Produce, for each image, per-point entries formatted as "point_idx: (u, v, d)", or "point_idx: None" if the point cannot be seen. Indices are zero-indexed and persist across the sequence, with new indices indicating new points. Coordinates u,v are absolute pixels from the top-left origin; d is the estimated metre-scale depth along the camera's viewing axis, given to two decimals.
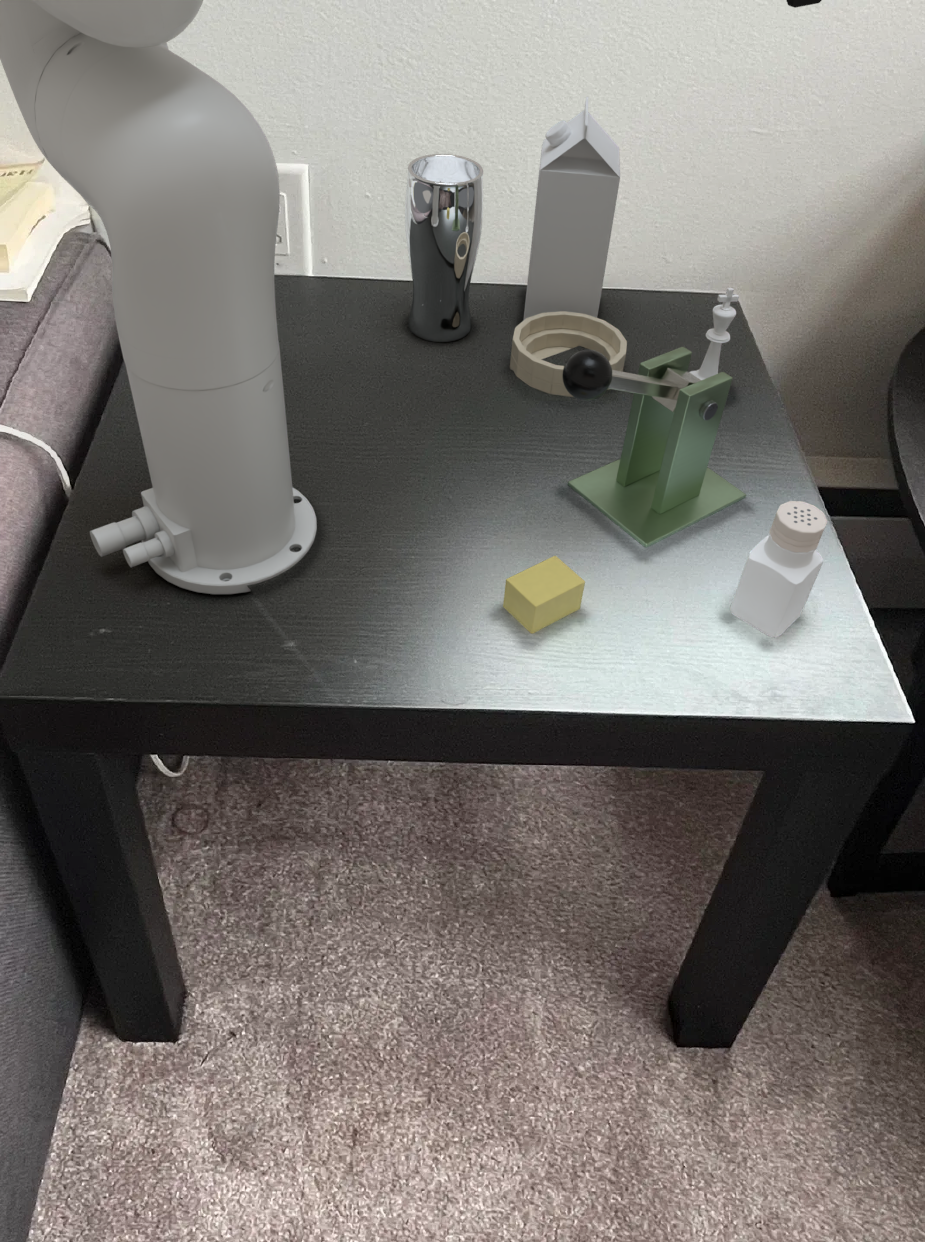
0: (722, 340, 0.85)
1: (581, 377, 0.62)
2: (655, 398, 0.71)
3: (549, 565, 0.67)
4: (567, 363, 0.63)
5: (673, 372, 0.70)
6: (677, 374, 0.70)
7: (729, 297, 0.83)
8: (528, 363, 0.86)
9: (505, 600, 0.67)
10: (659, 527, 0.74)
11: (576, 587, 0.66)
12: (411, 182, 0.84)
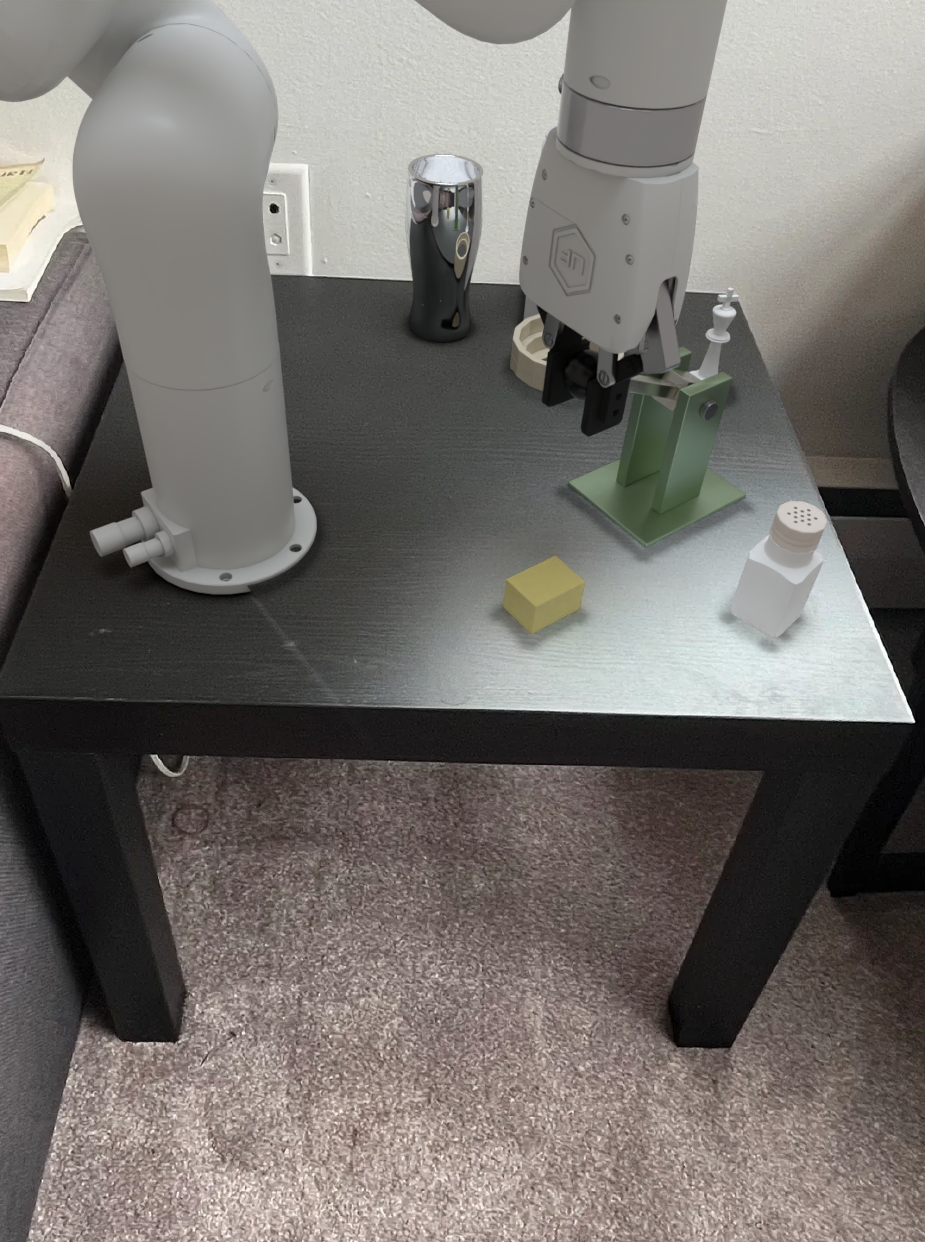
0: (722, 340, 0.85)
1: (581, 377, 0.62)
2: (655, 398, 0.71)
3: (549, 565, 0.67)
4: (567, 363, 0.63)
5: (673, 372, 0.70)
6: (677, 374, 0.70)
7: (729, 297, 0.83)
8: (528, 363, 0.86)
9: (505, 600, 0.67)
10: (659, 527, 0.74)
11: (576, 587, 0.66)
12: (411, 182, 0.84)
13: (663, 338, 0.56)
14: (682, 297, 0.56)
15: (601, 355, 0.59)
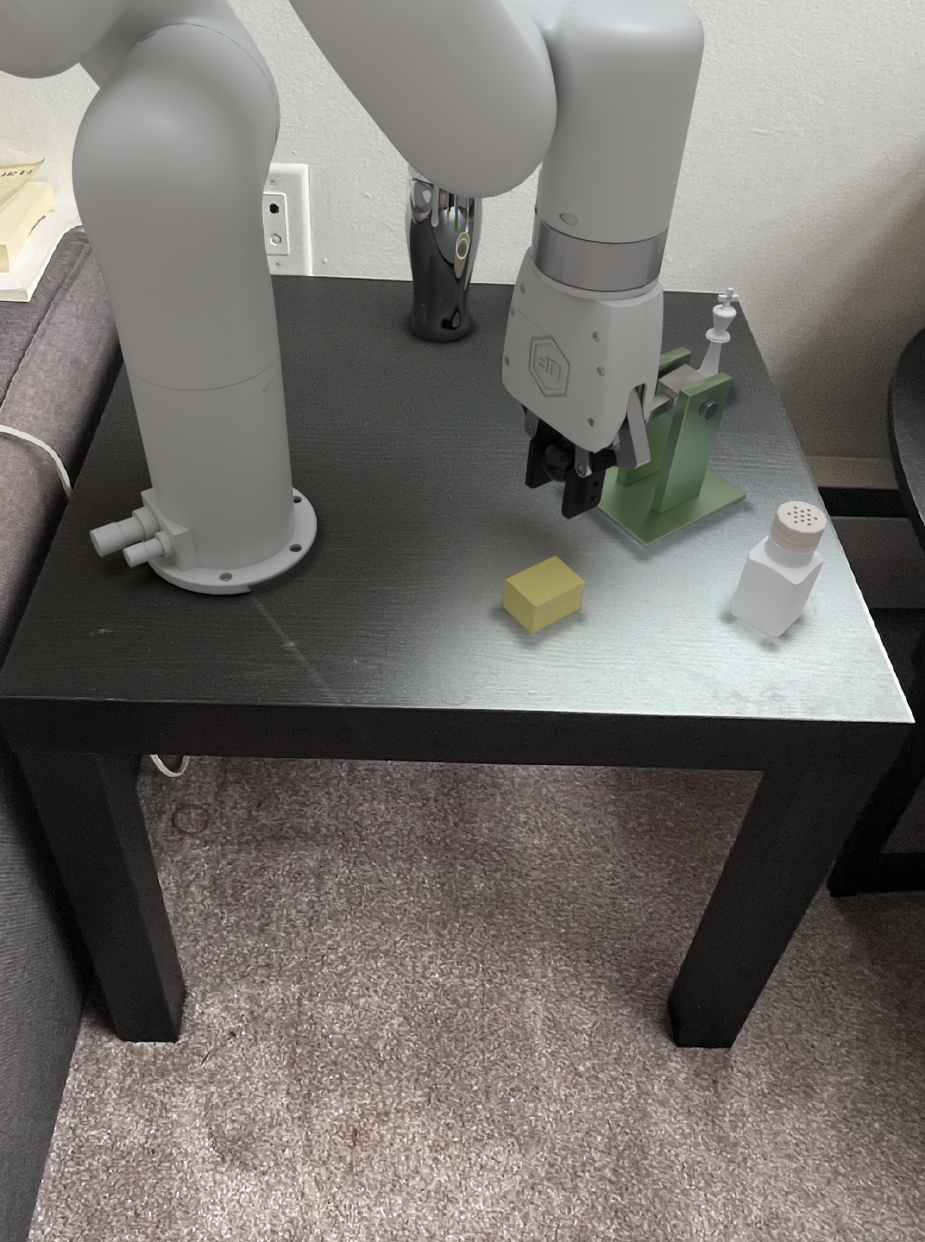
0: (722, 340, 0.85)
1: (555, 473, 0.67)
2: None
3: (549, 565, 0.67)
4: (541, 459, 0.67)
5: (663, 384, 0.70)
6: (667, 385, 0.70)
7: (729, 297, 0.83)
8: None
9: (505, 600, 0.67)
10: (659, 527, 0.74)
11: (576, 587, 0.66)
12: (411, 182, 0.84)
13: (634, 438, 0.60)
14: (651, 399, 0.61)
15: (578, 449, 0.64)
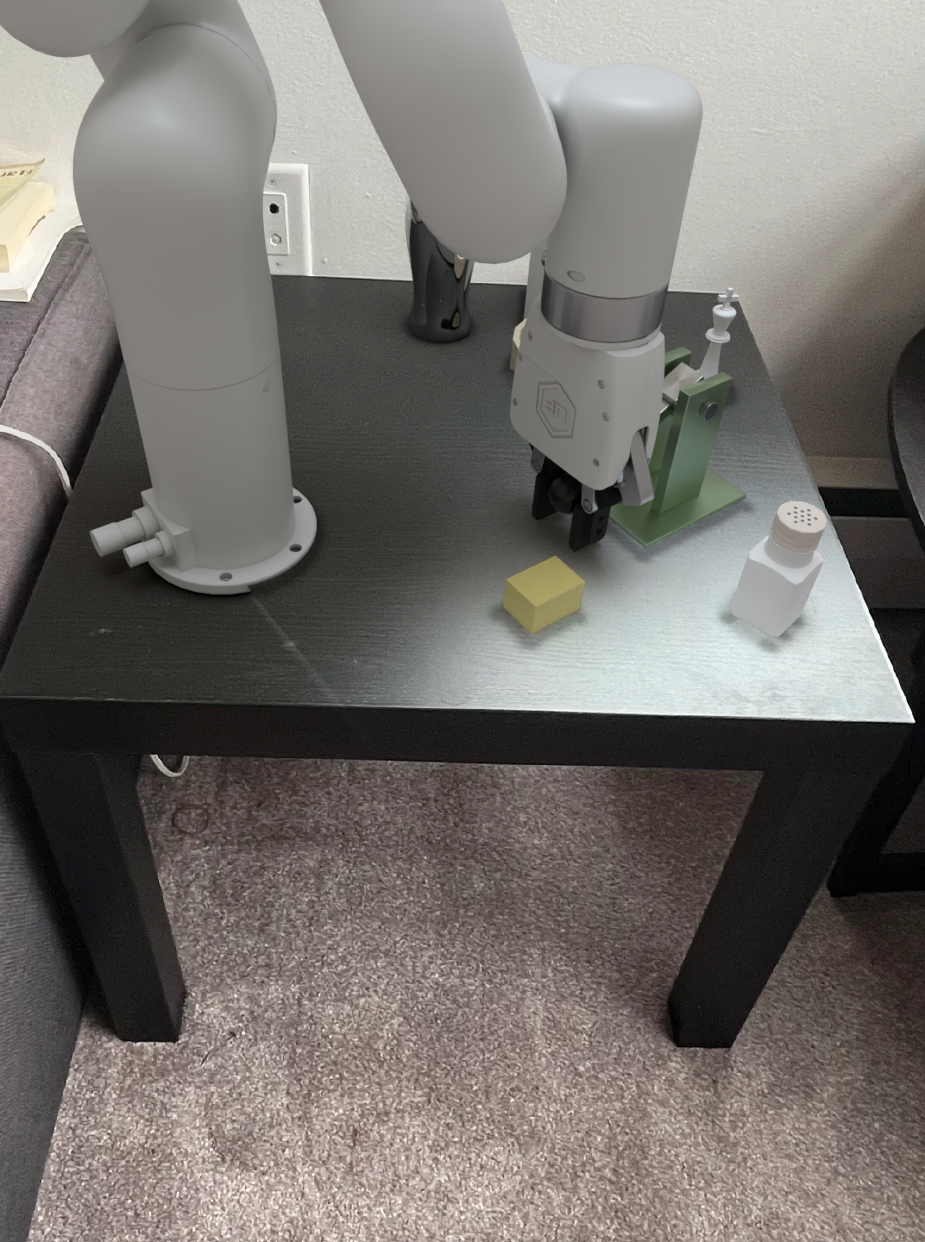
0: (722, 340, 0.85)
1: (562, 509, 0.70)
2: None
3: (549, 565, 0.67)
4: (548, 496, 0.71)
5: None
6: (664, 393, 0.70)
7: (729, 297, 0.83)
8: None
9: (505, 600, 0.67)
10: (659, 527, 0.74)
11: (576, 587, 0.66)
12: None
13: (638, 477, 0.63)
14: (653, 440, 0.64)
15: (584, 486, 0.67)
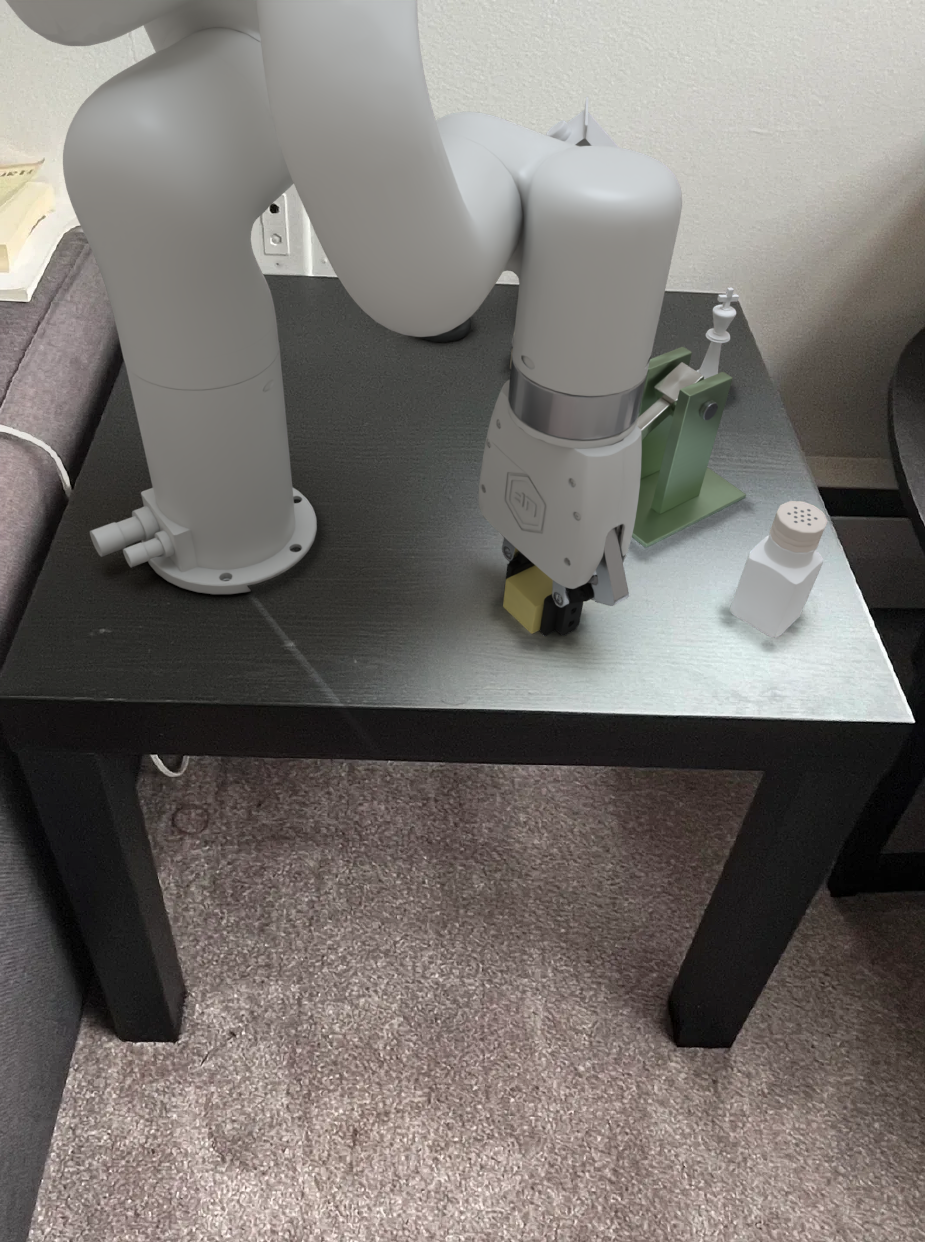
0: (722, 340, 0.85)
1: None
2: None
3: None
4: None
5: (660, 391, 0.70)
6: (664, 393, 0.70)
7: (729, 297, 0.83)
8: None
9: (505, 600, 0.67)
10: (659, 527, 0.74)
11: None
12: None
13: (611, 576, 0.59)
14: (630, 537, 0.59)
15: None
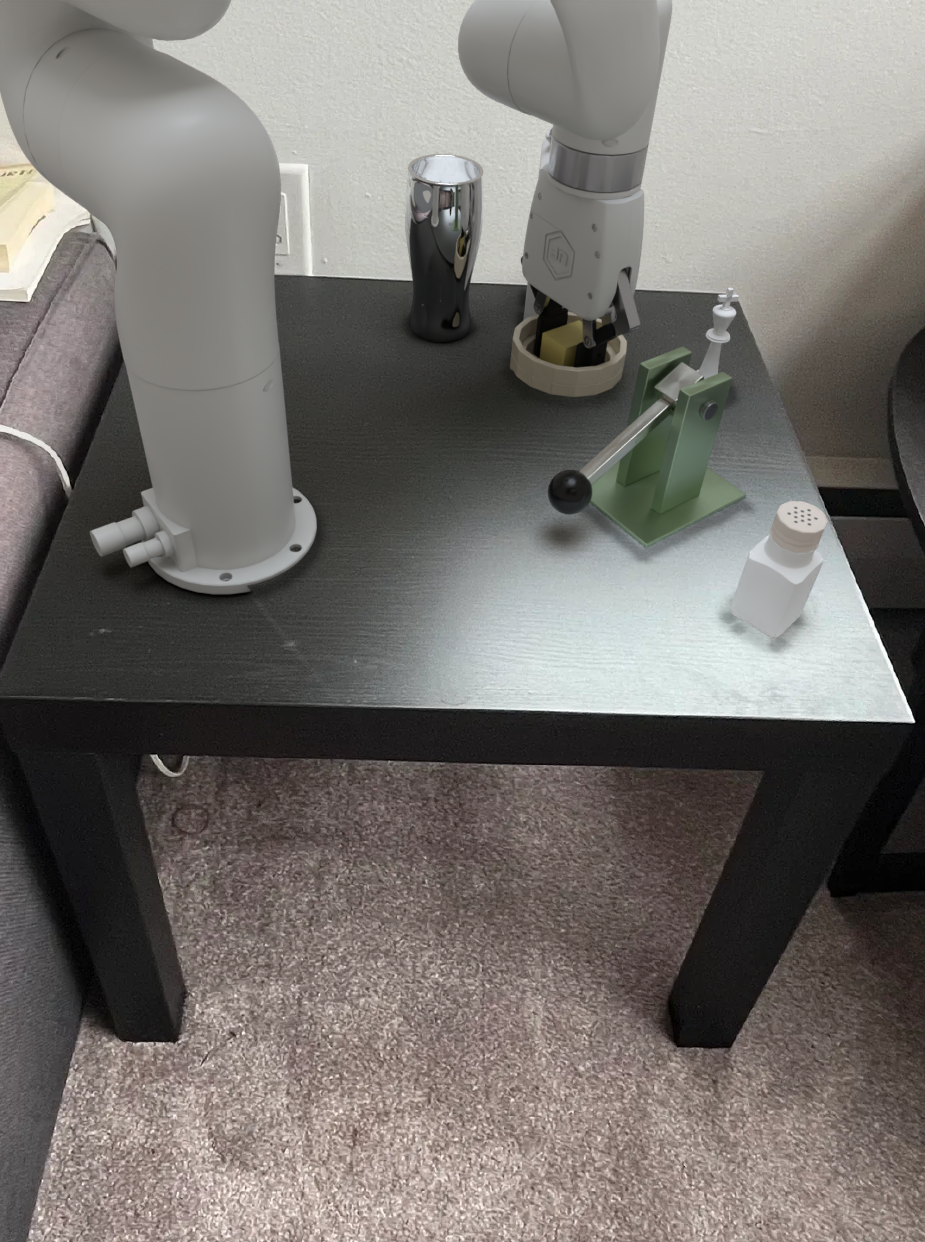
0: (722, 340, 0.85)
1: (562, 509, 0.70)
2: None
3: (574, 325, 0.89)
4: (548, 496, 0.71)
5: (660, 391, 0.70)
6: (664, 393, 0.70)
7: (729, 297, 0.83)
8: (528, 363, 0.86)
9: (541, 352, 0.89)
10: (659, 527, 0.74)
11: None
12: (411, 182, 0.84)
13: (626, 307, 0.80)
14: (635, 281, 0.81)
15: (584, 325, 0.84)
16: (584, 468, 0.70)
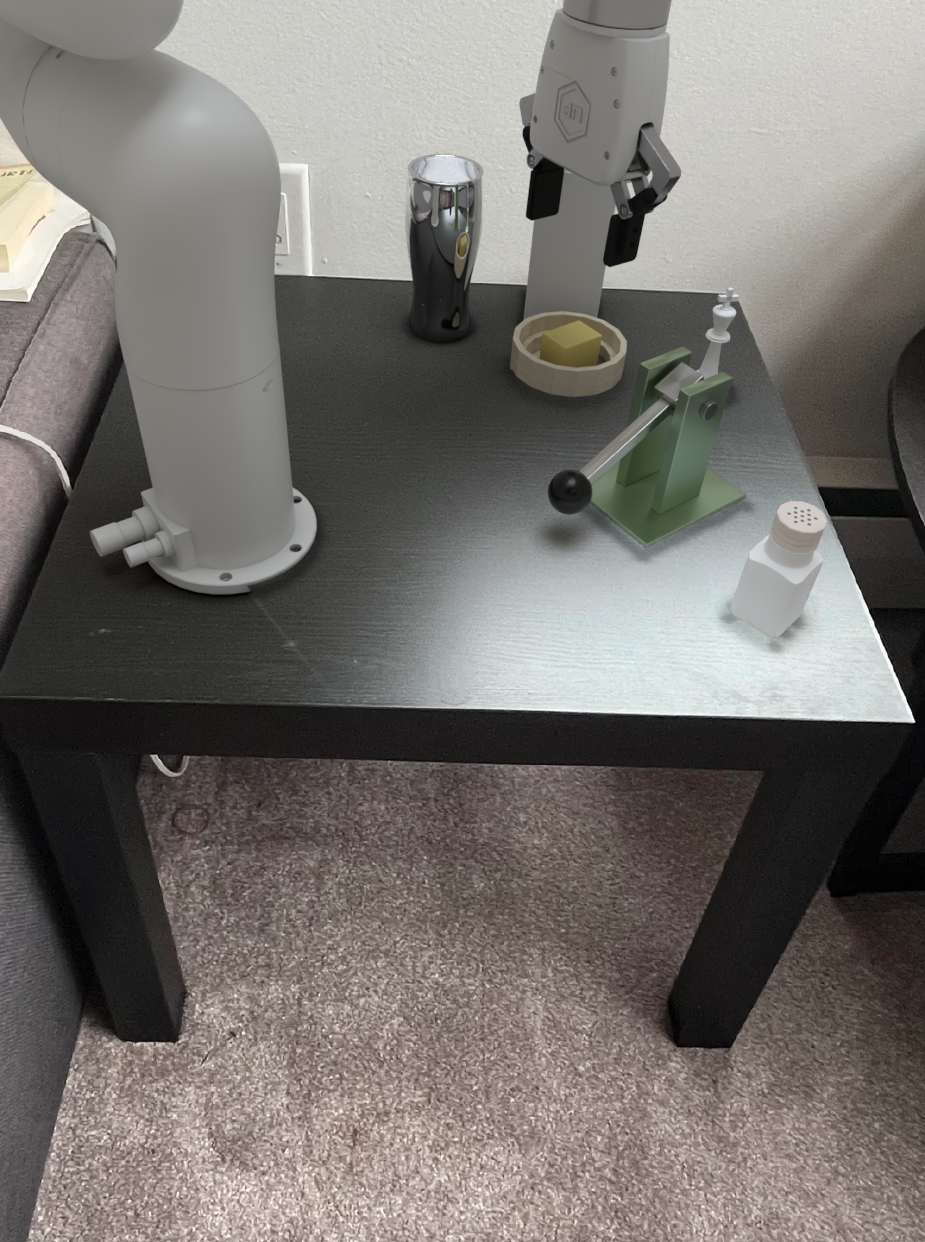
0: (722, 340, 0.85)
1: (562, 509, 0.70)
2: None
3: (574, 325, 0.89)
4: (548, 496, 0.71)
5: (660, 391, 0.70)
6: (664, 393, 0.70)
7: (729, 297, 0.83)
8: (528, 363, 0.86)
9: (541, 352, 0.89)
10: (659, 527, 0.74)
11: (595, 339, 0.88)
12: (411, 182, 0.84)
13: (659, 154, 0.71)
14: None
15: (615, 194, 0.74)
16: (584, 468, 0.70)
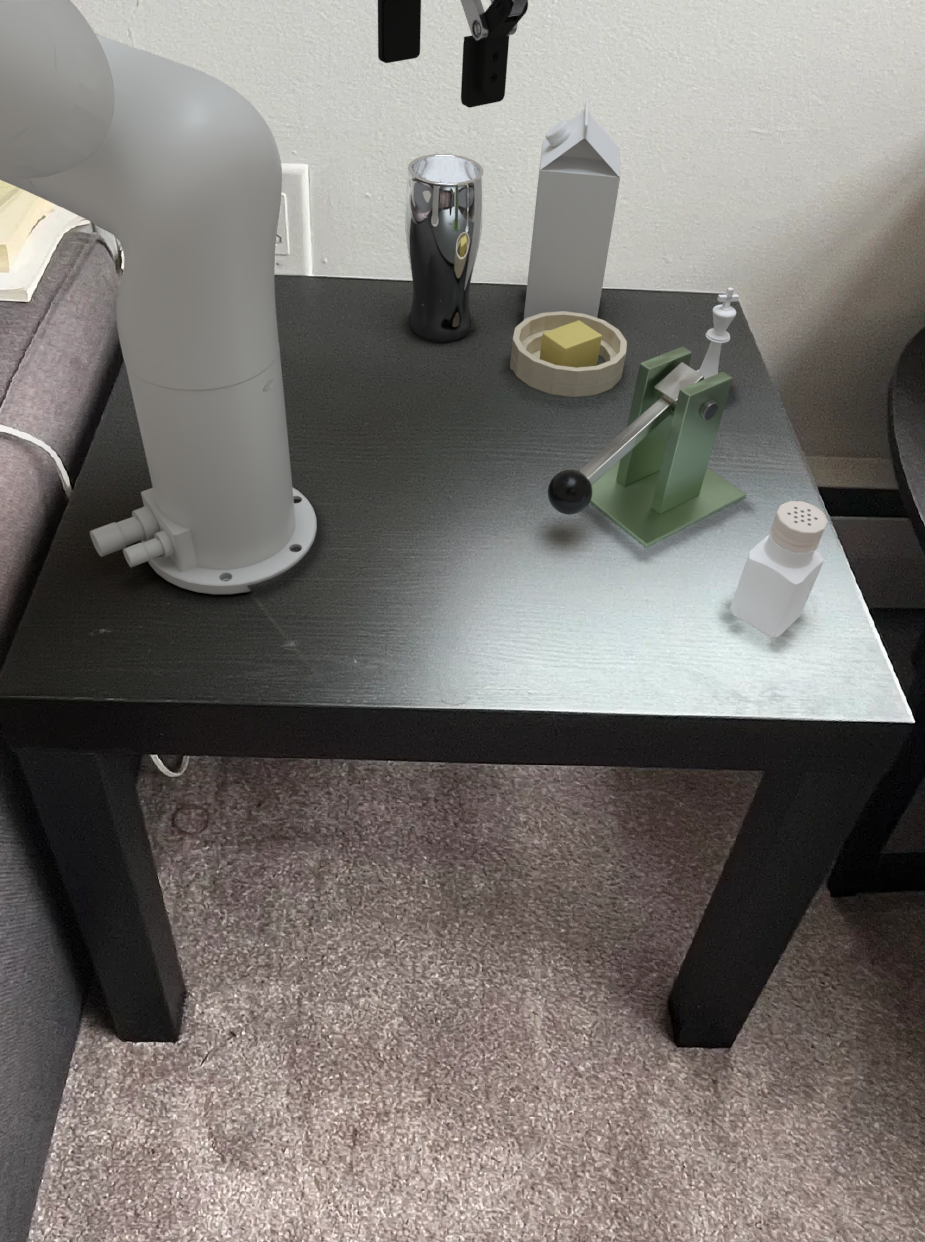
0: (722, 340, 0.85)
1: (562, 509, 0.70)
2: None
3: (574, 325, 0.89)
4: (548, 496, 0.71)
5: (660, 391, 0.70)
6: (664, 393, 0.70)
7: (729, 297, 0.83)
8: (528, 363, 0.86)
9: (541, 352, 0.89)
10: (659, 527, 0.74)
11: (595, 339, 0.88)
12: (411, 182, 0.84)
13: None
14: None
15: (466, 8, 0.60)
16: (584, 468, 0.70)
